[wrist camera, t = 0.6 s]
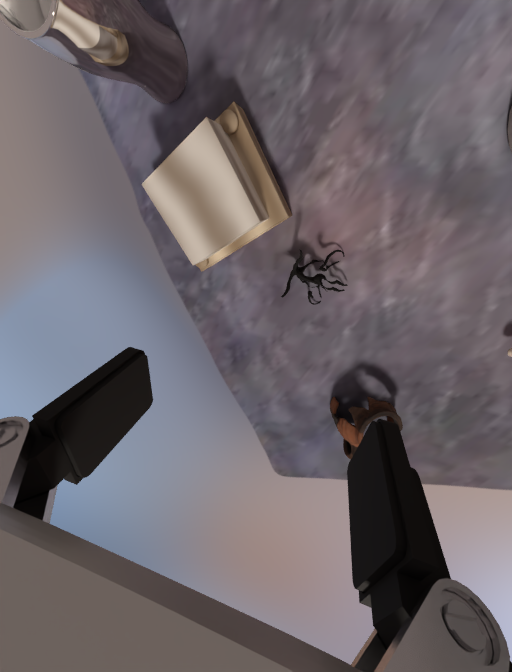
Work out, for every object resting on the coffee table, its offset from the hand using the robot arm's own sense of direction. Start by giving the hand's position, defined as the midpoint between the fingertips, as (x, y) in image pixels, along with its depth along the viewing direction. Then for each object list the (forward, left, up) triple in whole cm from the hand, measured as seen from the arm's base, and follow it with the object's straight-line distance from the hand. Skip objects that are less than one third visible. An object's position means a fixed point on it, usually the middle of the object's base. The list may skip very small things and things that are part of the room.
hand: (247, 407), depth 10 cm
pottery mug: (+3, +27, -27) cm, 38 cm away
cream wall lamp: (+7, -12, -27) cm, 30 cm away
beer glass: (+6, -26, -27) cm, 38 cm away
